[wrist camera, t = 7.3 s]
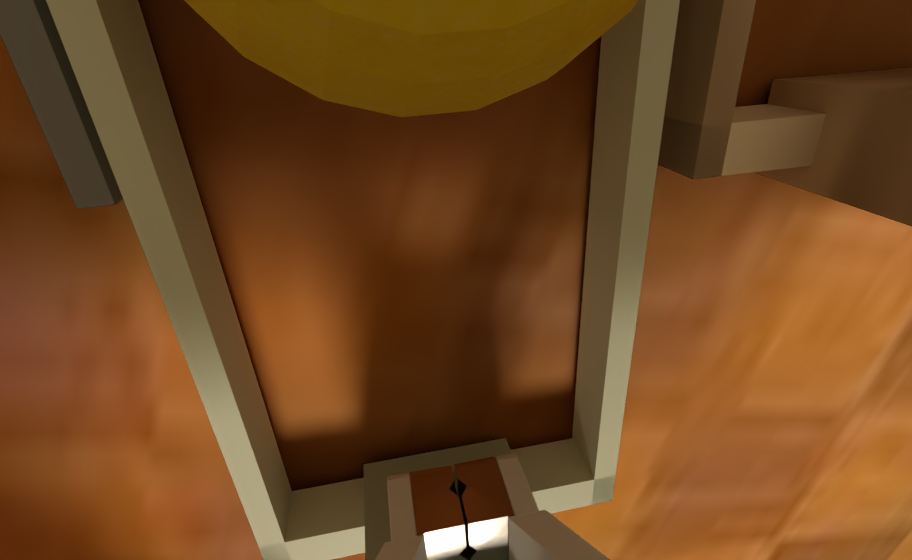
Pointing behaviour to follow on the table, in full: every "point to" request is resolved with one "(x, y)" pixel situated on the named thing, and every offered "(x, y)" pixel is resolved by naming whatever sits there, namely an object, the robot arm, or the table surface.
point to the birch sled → (785, 119)
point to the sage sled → (218, 330)
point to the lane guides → (58, 101)
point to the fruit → (412, 46)
